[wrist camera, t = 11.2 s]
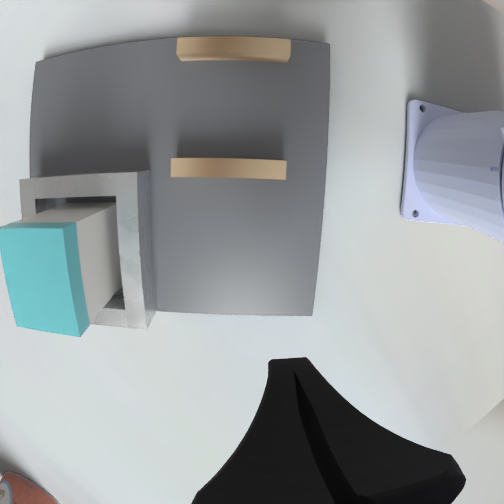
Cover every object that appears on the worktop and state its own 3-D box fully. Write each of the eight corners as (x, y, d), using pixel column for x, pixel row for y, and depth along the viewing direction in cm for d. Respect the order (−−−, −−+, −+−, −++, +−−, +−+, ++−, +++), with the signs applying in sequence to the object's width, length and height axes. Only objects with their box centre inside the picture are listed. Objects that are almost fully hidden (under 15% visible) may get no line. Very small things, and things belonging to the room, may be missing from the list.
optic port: (150, 169, 18) (137, 171, 15) (156, 310, 20) (146, 329, 18) (41, 175, 17) (19, 179, 15) (56, 301, 20) (38, 316, 18)
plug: (121, 201, 18) (62, 228, 12) (126, 280, 20) (80, 337, 13) (65, 202, 18) (-3, 228, 11) (73, 277, 20) (16, 326, 13)
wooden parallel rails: (287, 47, 16) (290, 39, 14) (282, 177, 18) (285, 179, 17) (182, 45, 16) (177, 37, 14) (176, 175, 18) (170, 176, 16)
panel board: (325, 48, 17) (329, 43, 16) (309, 308, 22) (312, 315, 21) (43, 64, 16) (35, 62, 15) (51, 295, 21) (44, 300, 20)
